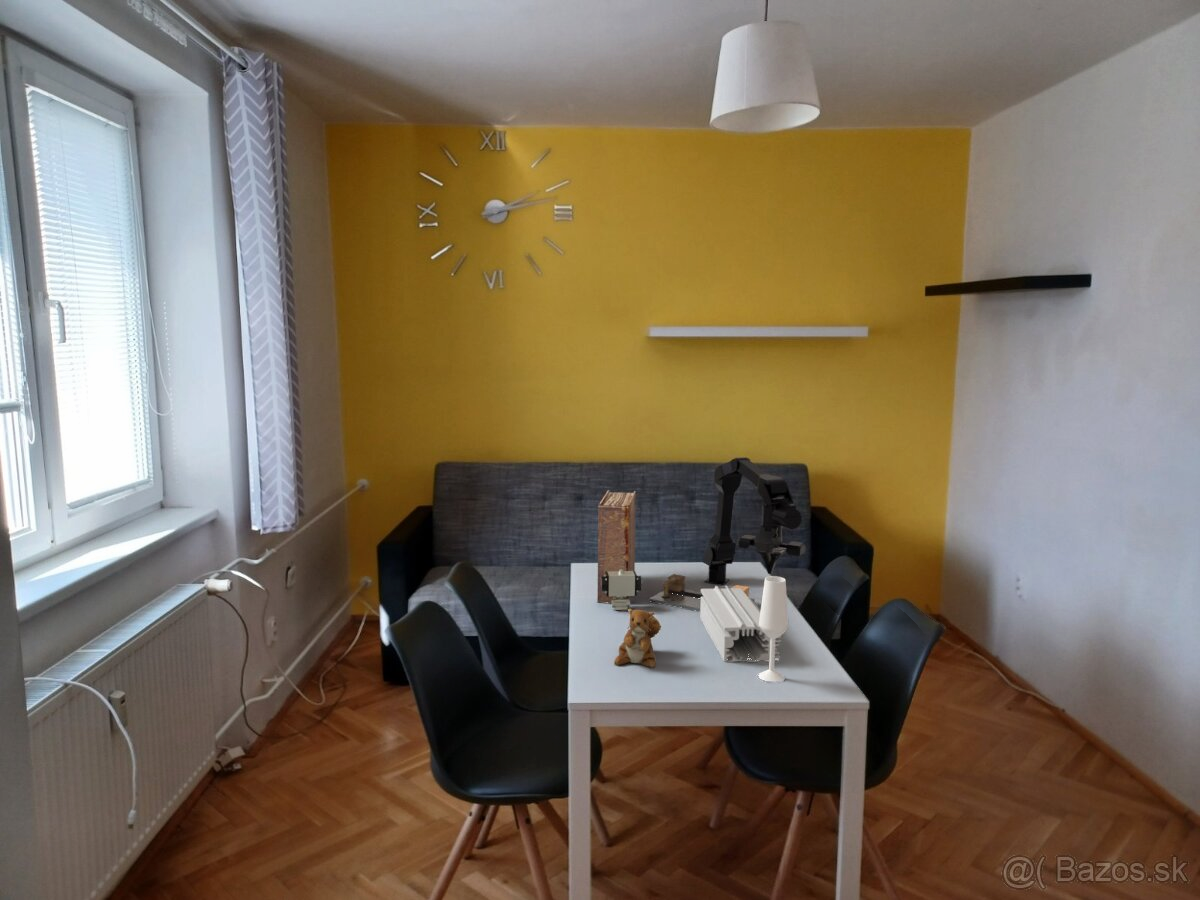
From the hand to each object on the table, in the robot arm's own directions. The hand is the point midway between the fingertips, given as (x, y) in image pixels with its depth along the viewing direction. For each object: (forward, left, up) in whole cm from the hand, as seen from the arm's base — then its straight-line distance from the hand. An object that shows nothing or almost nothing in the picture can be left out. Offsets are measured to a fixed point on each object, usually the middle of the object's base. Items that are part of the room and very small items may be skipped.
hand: (769, 573), depth 232 cm
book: (+8, -47, -12) cm, 49 cm away
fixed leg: (+3, -30, -10) cm, 32 cm away
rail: (0, -19, -11) cm, 22 cm away
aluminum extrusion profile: (+25, 0, -12) cm, 28 cm away
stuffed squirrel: (+51, -16, -12) cm, 55 cm away
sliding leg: (+3, -9, -10) cm, 14 cm away
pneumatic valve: (+22, -38, -12) cm, 45 cm away
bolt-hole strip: (+8, -21, -11) cm, 25 cm away
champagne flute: (+45, +16, -12) cm, 49 cm away
